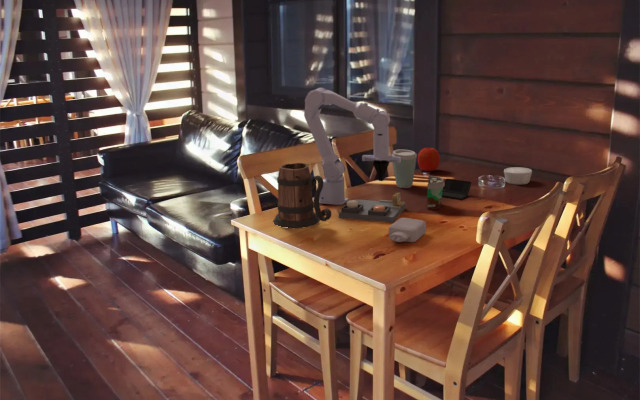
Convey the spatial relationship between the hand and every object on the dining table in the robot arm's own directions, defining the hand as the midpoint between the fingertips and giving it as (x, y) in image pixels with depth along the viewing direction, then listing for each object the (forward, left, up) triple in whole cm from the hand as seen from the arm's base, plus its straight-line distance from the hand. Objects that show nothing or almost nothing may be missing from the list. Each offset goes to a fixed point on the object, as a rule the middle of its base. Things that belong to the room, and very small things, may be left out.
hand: (381, 180), depth 222 cm
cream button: (-6, -17, -6) cm, 19 cm away
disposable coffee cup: (+2, +27, -10) cm, 29 cm away
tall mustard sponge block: (+9, -7, -7) cm, 13 cm away
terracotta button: (+4, -17, -7) cm, 18 cm away
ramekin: (+46, +46, -10) cm, 66 cm away
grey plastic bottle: (+17, -34, -10) cm, 40 cm away
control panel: (0, -12, -9) cm, 15 cm away
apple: (+6, +56, -10) cm, 57 cm away
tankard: (-20, -28, -10) cm, 36 cm away
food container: (+20, +4, -10) cm, 23 cm away
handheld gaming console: (+24, +19, -10) cm, 32 cm away
